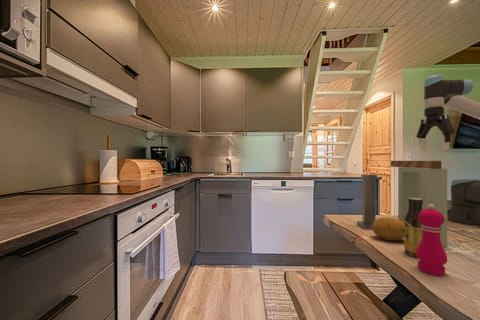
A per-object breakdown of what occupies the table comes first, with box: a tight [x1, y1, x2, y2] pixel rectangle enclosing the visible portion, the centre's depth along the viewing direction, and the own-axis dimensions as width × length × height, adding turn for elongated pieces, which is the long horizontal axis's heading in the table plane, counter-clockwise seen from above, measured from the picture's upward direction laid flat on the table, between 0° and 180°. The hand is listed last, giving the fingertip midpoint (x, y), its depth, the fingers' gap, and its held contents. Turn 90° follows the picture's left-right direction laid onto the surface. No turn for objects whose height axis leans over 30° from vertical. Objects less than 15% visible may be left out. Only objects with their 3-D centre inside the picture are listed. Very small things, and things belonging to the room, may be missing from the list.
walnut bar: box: [390, 160, 442, 169], centre depth 102 cm, size 28×3×3 cm, turn 176°
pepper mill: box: [416, 204, 448, 276], centre depth 68 cm, size 7×7×20 cm
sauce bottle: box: [403, 198, 423, 258], centre depth 80 cm, size 6×6×20 cm
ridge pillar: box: [356, 174, 378, 231], centre depth 113 cm, size 8×8×26 cm
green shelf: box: [397, 167, 448, 247], centre depth 97 cm, size 17×8×30 cm, turn 176°
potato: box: [372, 217, 404, 241], centre depth 95 cm, size 10×13×9 cm
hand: (433, 150), depth 114 cm, fingers open, 13 cm apart
